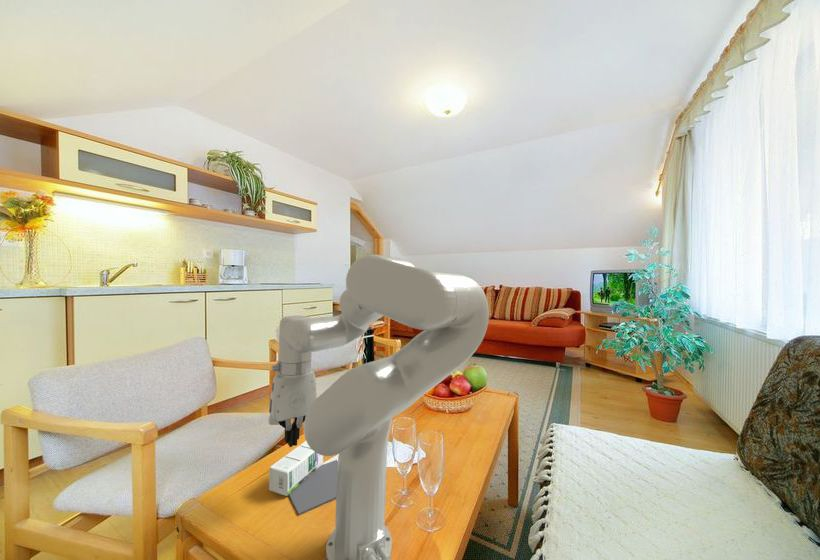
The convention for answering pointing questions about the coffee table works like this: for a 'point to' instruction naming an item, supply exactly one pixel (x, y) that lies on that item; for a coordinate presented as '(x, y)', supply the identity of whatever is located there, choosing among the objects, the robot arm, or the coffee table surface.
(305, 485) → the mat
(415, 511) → the coffee table surface
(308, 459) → the syrup box
